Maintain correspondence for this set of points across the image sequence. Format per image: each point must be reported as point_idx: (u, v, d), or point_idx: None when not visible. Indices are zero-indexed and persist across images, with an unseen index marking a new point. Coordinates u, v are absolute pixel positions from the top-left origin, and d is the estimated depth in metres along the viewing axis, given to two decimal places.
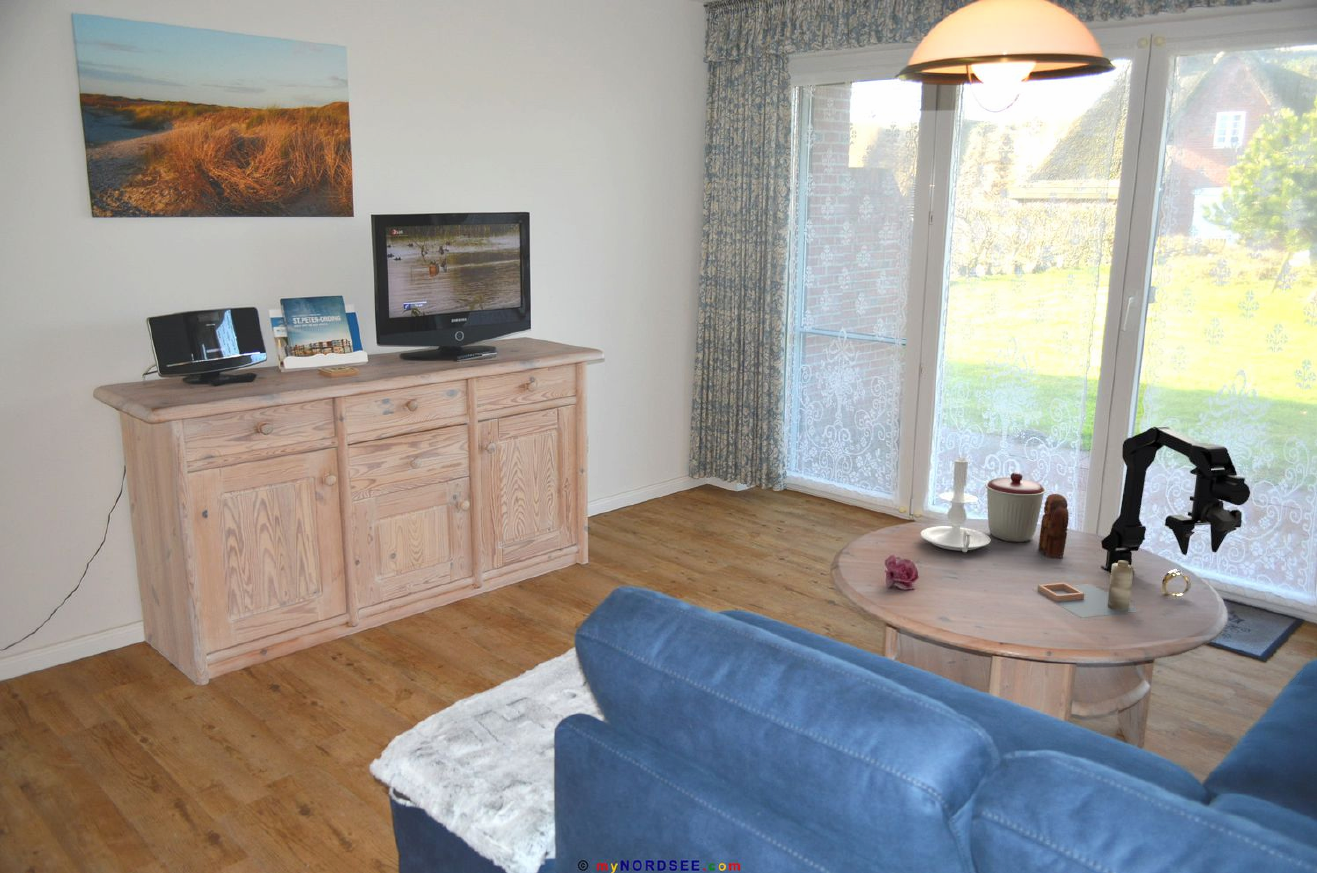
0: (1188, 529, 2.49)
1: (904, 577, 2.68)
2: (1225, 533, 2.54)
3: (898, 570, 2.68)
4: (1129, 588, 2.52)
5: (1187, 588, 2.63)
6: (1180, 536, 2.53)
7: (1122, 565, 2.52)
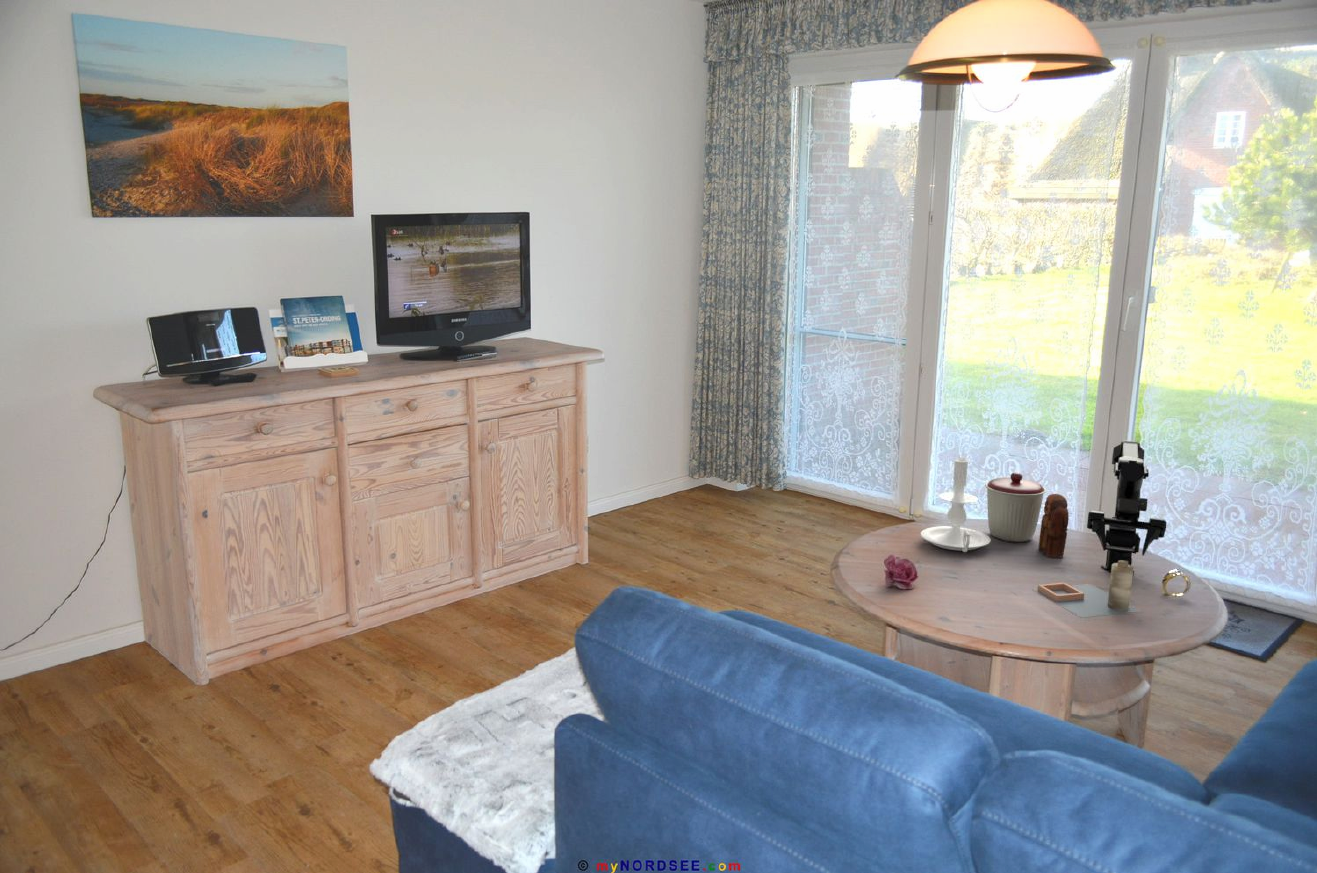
0: (1096, 516, 2.63)
1: (903, 577, 2.68)
2: (1149, 533, 2.58)
3: (897, 570, 2.68)
4: (1129, 588, 2.52)
5: (1187, 588, 2.63)
6: None
7: (1122, 565, 2.52)
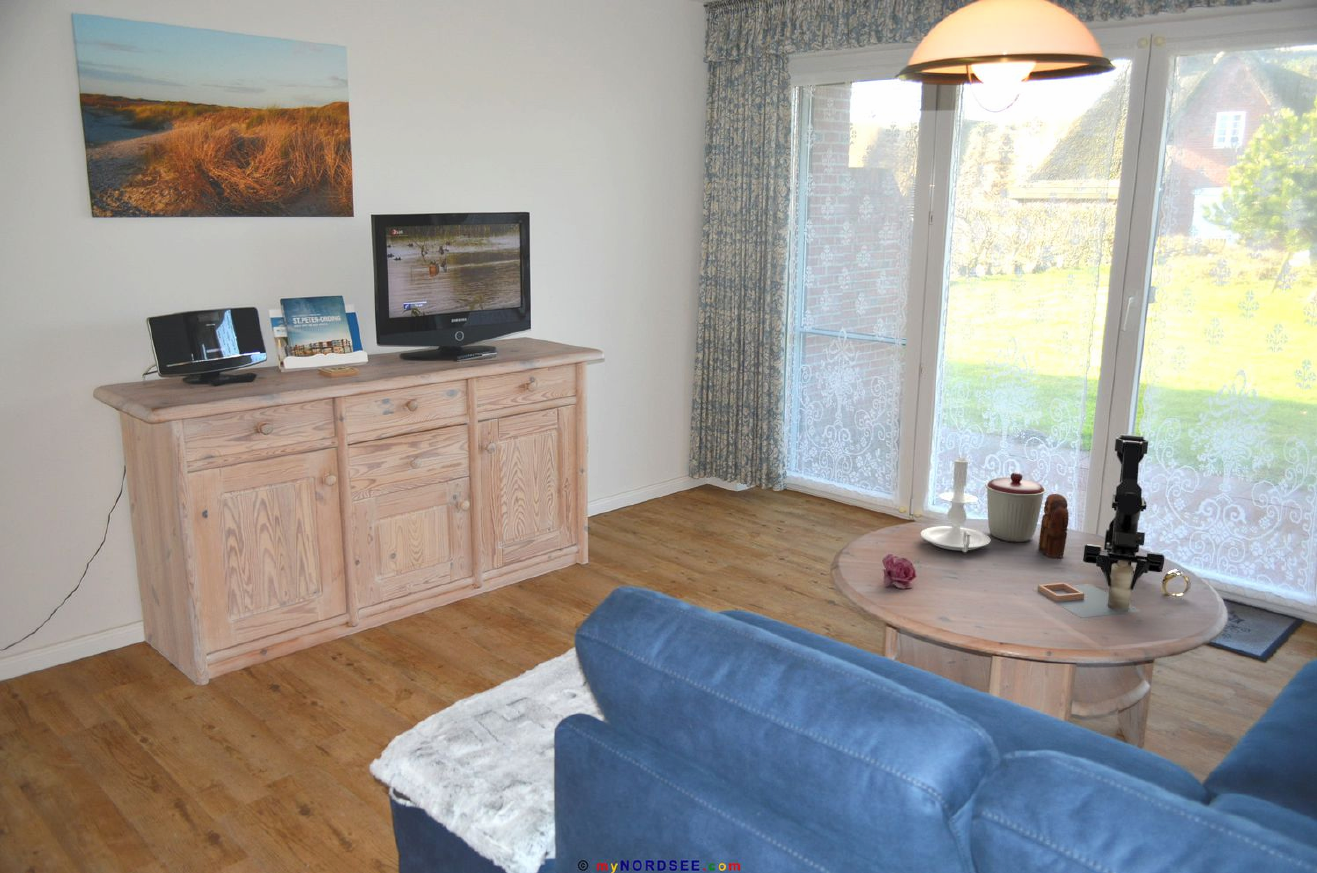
0: (1093, 550, 2.57)
1: (902, 576, 2.69)
2: (1138, 567, 2.52)
3: (896, 569, 2.69)
4: (1129, 588, 2.52)
5: (1187, 588, 2.63)
6: (1105, 569, 2.57)
7: (1122, 565, 2.52)
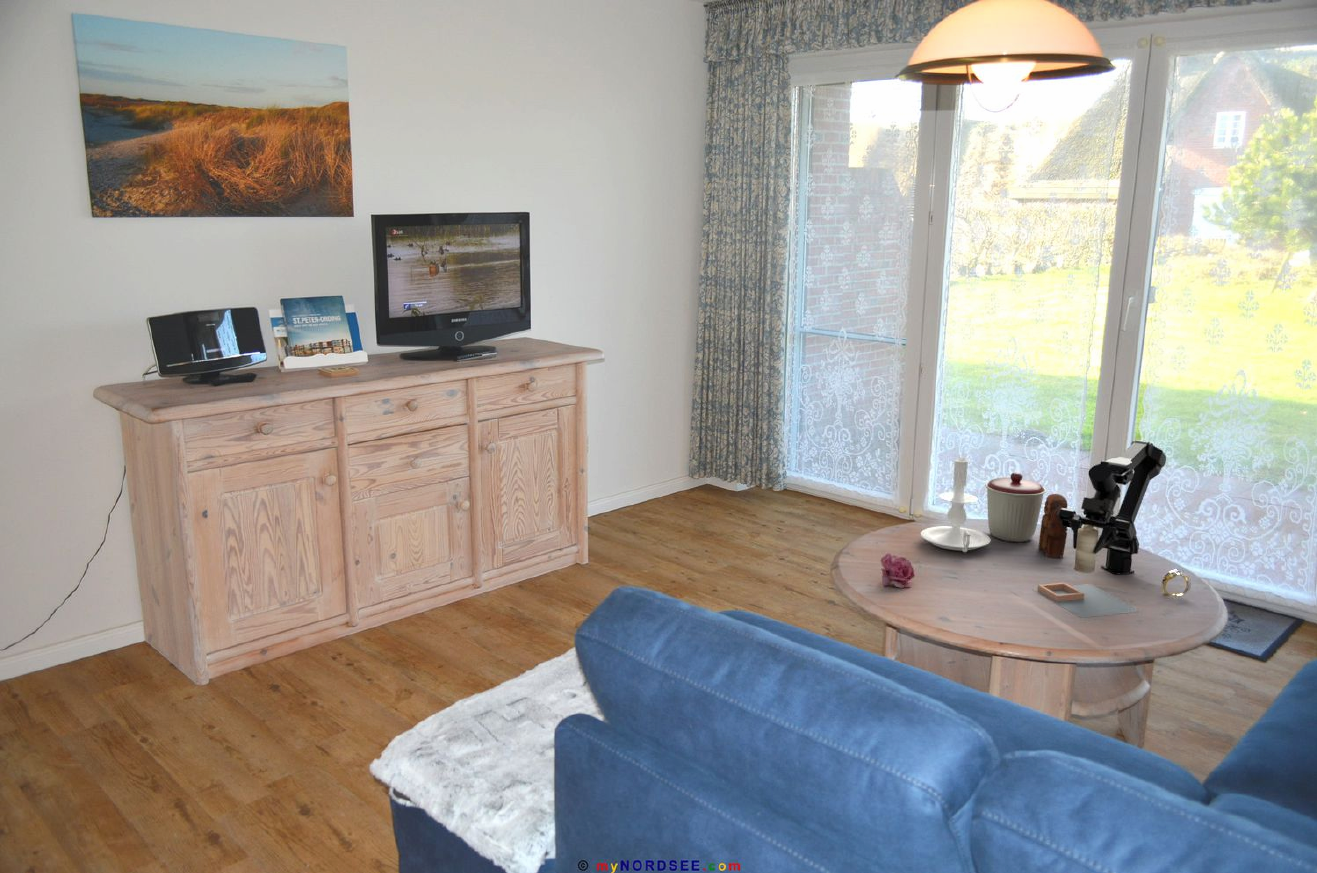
0: (1064, 514, 2.69)
1: (900, 575, 2.69)
2: (1104, 532, 2.61)
3: (894, 568, 2.69)
4: (1092, 552, 2.62)
5: (1187, 588, 2.63)
6: None
7: (1086, 529, 2.62)
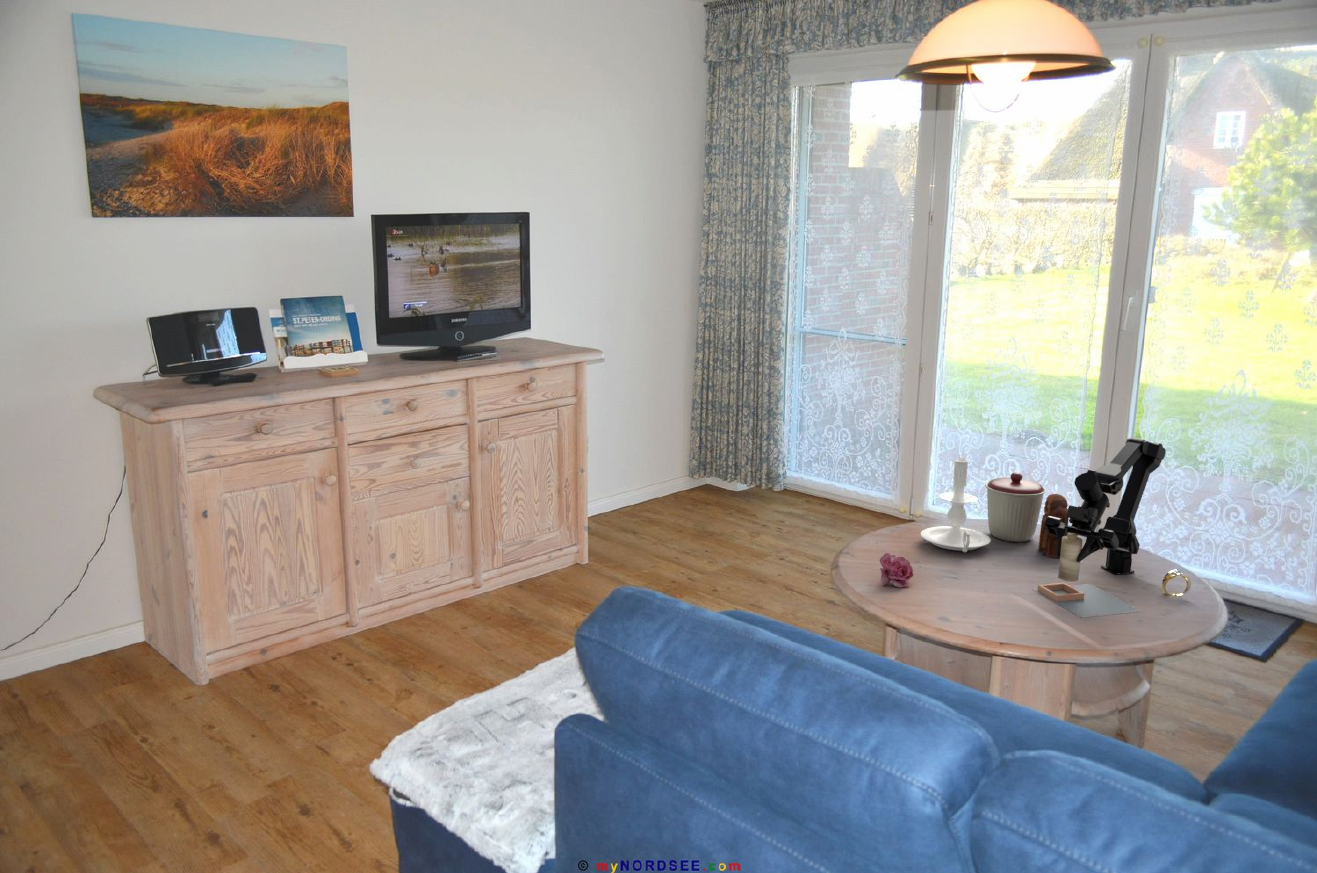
0: (1050, 522, 2.68)
1: (899, 575, 2.69)
2: (1088, 541, 2.61)
3: (893, 568, 2.69)
4: (1075, 560, 2.61)
5: (1187, 588, 2.63)
6: None
7: (1070, 537, 2.62)
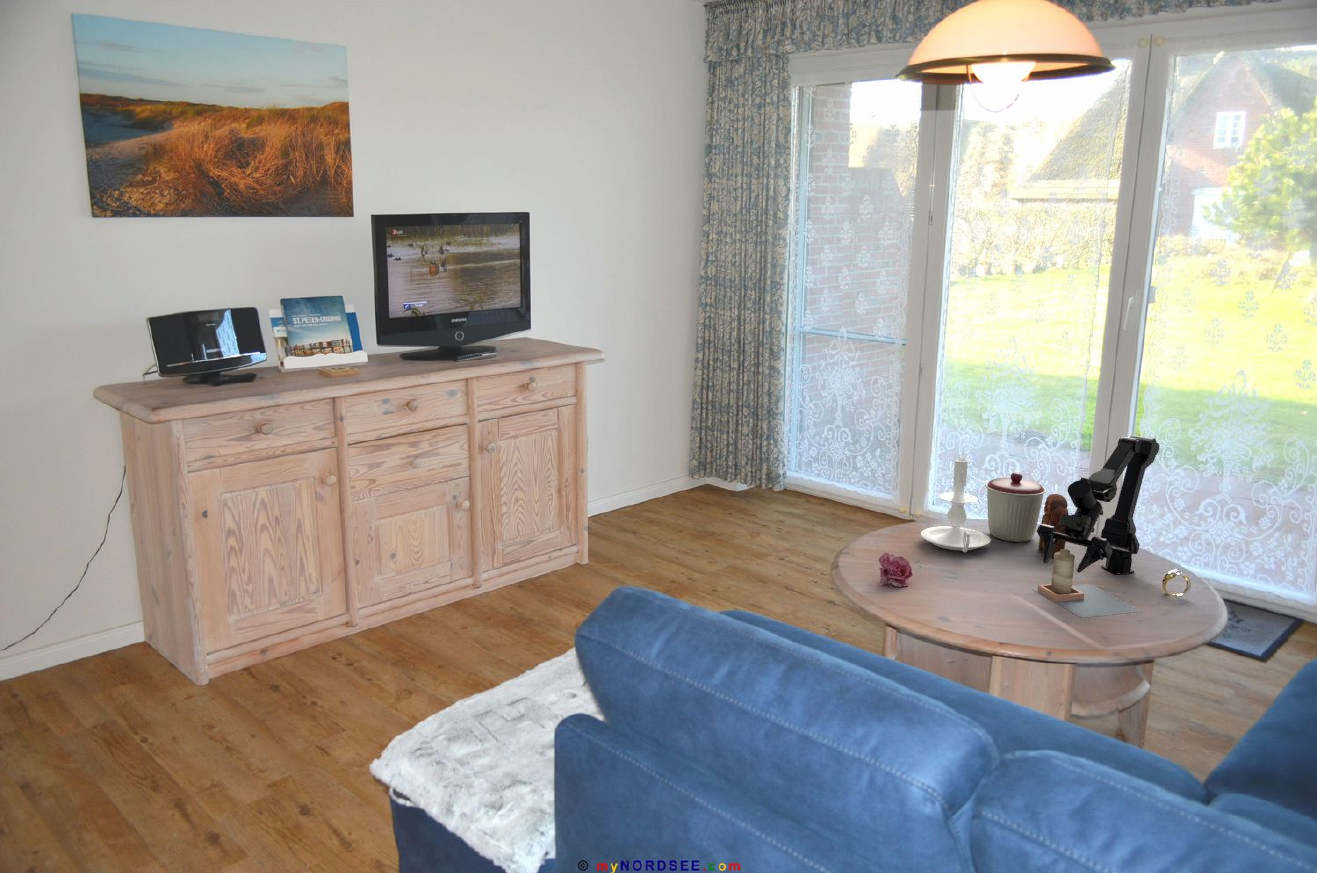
0: (1043, 530, 2.66)
1: (898, 574, 2.70)
2: (1088, 551, 2.57)
3: (892, 567, 2.70)
4: (1067, 576, 2.60)
5: (1187, 588, 2.63)
6: None
7: (1062, 553, 2.60)
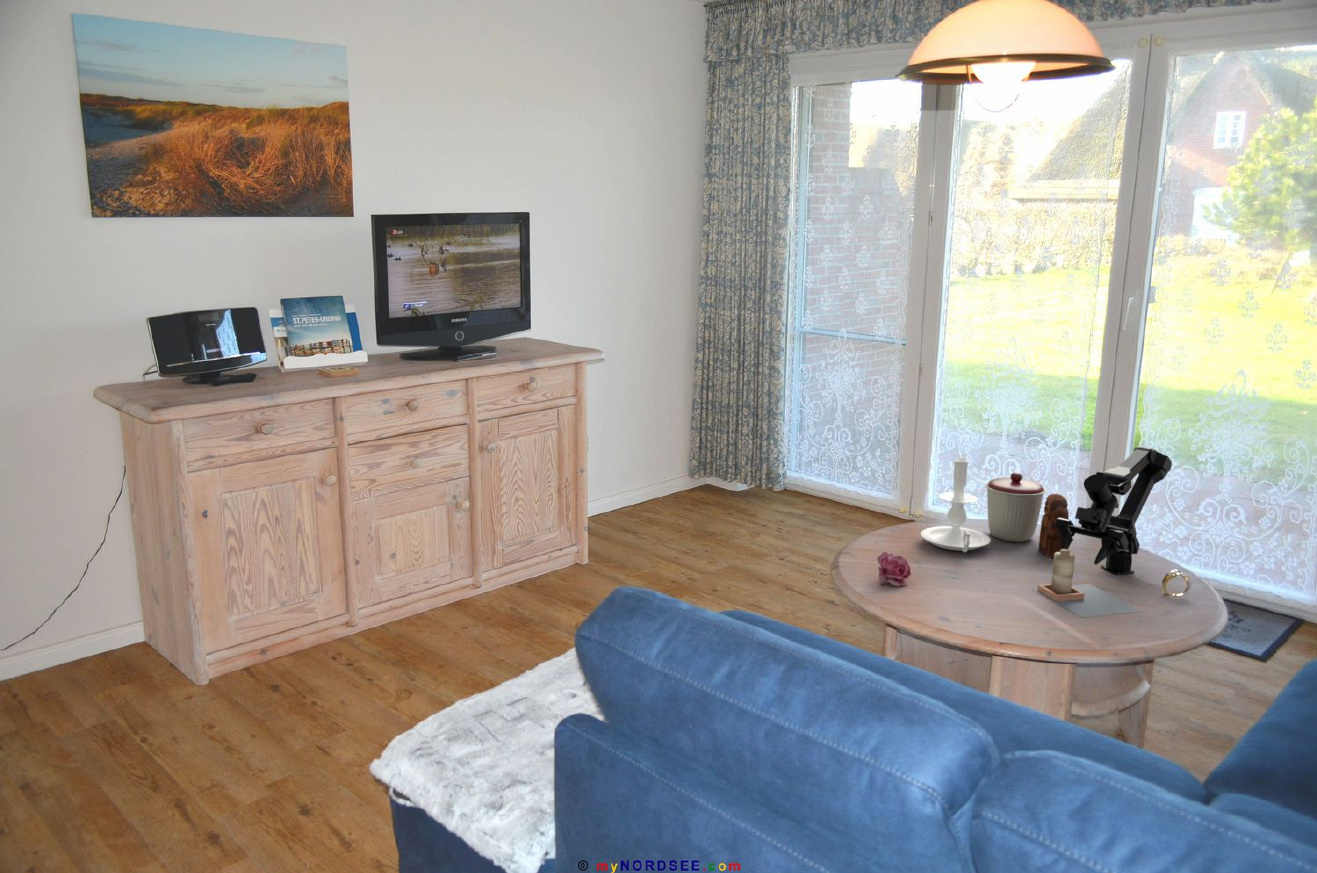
0: (1060, 523, 2.72)
1: (897, 573, 2.70)
2: (1105, 544, 2.63)
3: (891, 567, 2.70)
4: (1067, 576, 2.60)
5: (1187, 588, 2.63)
6: None
7: (1062, 553, 2.60)
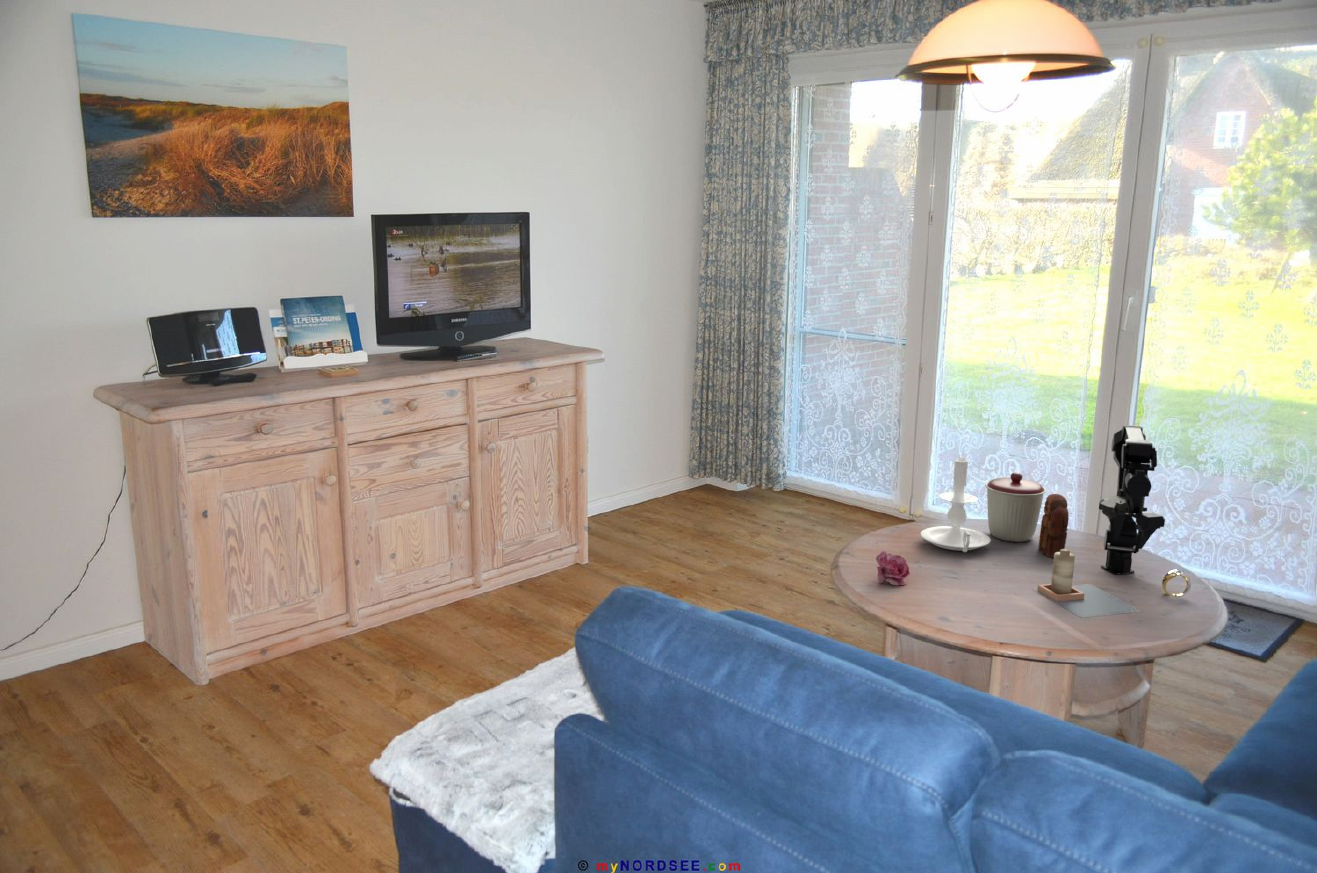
0: None
1: (895, 573, 2.71)
2: (1139, 530, 2.61)
3: (890, 566, 2.71)
4: (1067, 576, 2.60)
5: (1187, 588, 2.63)
6: None
7: (1062, 553, 2.60)
